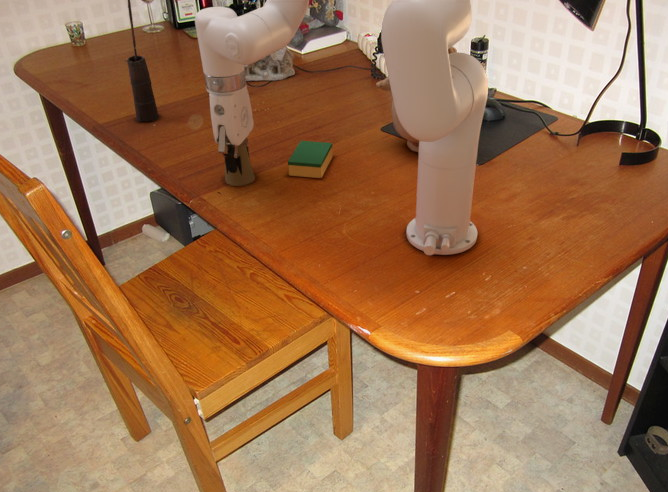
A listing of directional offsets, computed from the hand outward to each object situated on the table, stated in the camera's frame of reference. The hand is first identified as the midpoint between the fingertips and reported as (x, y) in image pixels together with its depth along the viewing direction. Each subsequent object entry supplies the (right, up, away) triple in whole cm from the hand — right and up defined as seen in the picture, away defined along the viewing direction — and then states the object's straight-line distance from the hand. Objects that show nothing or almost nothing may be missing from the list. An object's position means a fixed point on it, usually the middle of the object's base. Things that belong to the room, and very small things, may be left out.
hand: (238, 168), depth 131 cm
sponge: (+14, +2, +5) cm, 15 cm away
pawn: (0, -2, +1) cm, 2 cm away
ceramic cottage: (-3, +36, +49) cm, 61 cm away
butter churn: (-28, +17, +25) cm, 41 cm away
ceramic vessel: (+41, +7, +13) cm, 43 cm away
